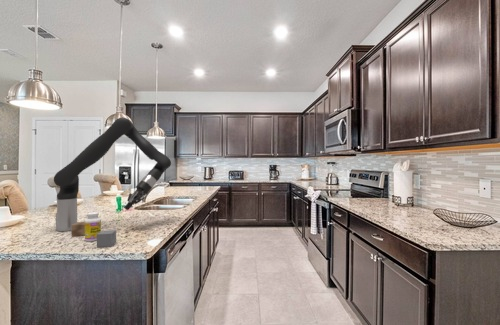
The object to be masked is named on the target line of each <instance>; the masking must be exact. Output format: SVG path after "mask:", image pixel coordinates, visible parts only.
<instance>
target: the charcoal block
mask: <svg viewBox="0 0 500 325" xmlns="http://www.w3.org/2000/svg"><path fill="white" fill-rule="evenodd" d="M116 243H117V230H116V229H109V230H108V229H107V230H101V232H100V233H98V234H97V240H96V248H97V249H99V248H101V249H102V248H112V247H113V246H114V245H115V244H116Z"/></svg>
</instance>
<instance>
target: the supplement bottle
mask: <svg viewBox="0 0 500 325" xmlns="http://www.w3.org/2000/svg"><path fill="white" fill-rule="evenodd" d="M86 216H87V218H86V219H85V220H84V222H85V236H84V241H85V242H95V241H96V242H97V234H98V233H100V232H101V231H102V218H100V217H99V212H96V211H93V212H88V213H87V215H86Z"/></svg>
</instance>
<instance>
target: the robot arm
mask: <svg viewBox="0 0 500 325" xmlns="http://www.w3.org/2000/svg"><path fill="white" fill-rule="evenodd" d="M123 136H126V137H127V138H128V139H129V140H130V141H132V142H133V143H134V144H135V145H136V146H137V148H138V149H139V150H140V151H141V152H142V153H143V154H144V155H145V156H146V157H147V158H148V159H150V160H151V161H152V160H153V161H155V162H156V163H155V164H154V166H153V167H152V168H151V170H149V171H148V173H147V174H146V175H145V176H144V177H143V178H142V179H141V180H140V181H139V183H137V184H136V186H135V188H136V190H134V191H133V193H131V192H129V194H128V197H127V203H126V204H125V205H124V209H125V210H126V211H128V210H130V209H131V208H132V207H133V206H134V205H137V204H139V203H140V202H142V201H143V200H145V195H149V193H150V192H151V191H152V189H153V188H154V187H155V185H156V184H157V183H158V181H159V180H160V179H161V177H162V175H163V174H164V172H166V171H167V170H168V169H169V168H170V167H171V165H172V161H171V158H170V157H169V156H167V155H166V154H164V153H163V152H161V151H159V150H158V149H157V148H156V147H155V146H154V145H153V144H152V143H151V142H150V141H149V140H148V139H146V137H144V136H143V135H142V133H140V131H138V129H137V128H136V127H135V125H134V124H133V123H132V121H131V120H130V119H129V118H127V117H119V118H116V119H115V120H114V121H113V122H112V124H111V125H110V126H109V127H108V128H107V129H106V131H104V132H103V133H102V134H100V135H99V136H98V137H96V138H95V139H94V140H93V141H92V142H91V143H90V144H88V146H86V147H85V148H84V149H83V150H82V151H81V152H80V153H79V154H78V155H77V156H76V157H75V158H74V159H72V161H70V162H69V163H68V164H67V165H65V166H64V167H63V168H61V169H60V170H58V171H57V172H56V174H55V175H54V177H53V182H54V184H55V185H56V186H57V187H59V192H58V193H56V213H55V231H57V232H68V231H72V226H71V225H73V224H75V223H77V222H78V193H79V189H80V188H79V187H80V178H79V175H80V174H81V173H82V172H83V171H85V170H86V169H88V168H89V167H90V166H93V165H94V164H96V163H97V162H99V161H100V160H101V159H102V158H103V157H104V156H106V154H108V152H109V151H110V149H111V147H112V146H113V145H114V144H115V142H117V140H118V139H120V138H121V137H123Z"/></svg>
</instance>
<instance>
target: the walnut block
mask: <svg viewBox="0 0 500 325" xmlns="http://www.w3.org/2000/svg"><path fill="white" fill-rule="evenodd" d="M71 226H72V230H71V238H74V237H85V221H80V222H79V221H77V223H75V224H73V225H71Z"/></svg>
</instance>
